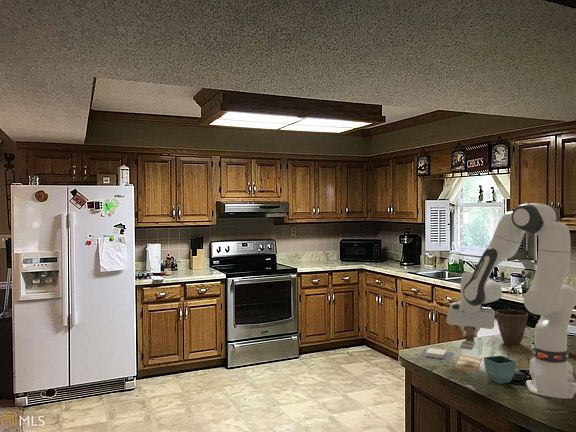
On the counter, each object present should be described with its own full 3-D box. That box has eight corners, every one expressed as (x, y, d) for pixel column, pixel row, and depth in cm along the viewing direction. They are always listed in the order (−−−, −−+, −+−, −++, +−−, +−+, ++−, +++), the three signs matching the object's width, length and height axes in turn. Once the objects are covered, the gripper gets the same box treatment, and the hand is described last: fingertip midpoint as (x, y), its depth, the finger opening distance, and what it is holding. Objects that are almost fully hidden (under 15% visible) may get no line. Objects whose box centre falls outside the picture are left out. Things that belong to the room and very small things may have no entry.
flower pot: (497, 386, 192) (497, 363, 191) (483, 379, 200) (483, 357, 200) (516, 384, 194) (516, 361, 194) (501, 377, 202) (501, 355, 202)
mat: (448, 363, 220) (448, 362, 220) (417, 358, 227) (417, 357, 227) (454, 353, 235) (454, 352, 235) (424, 349, 241) (424, 349, 241)
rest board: (476, 372, 208) (476, 370, 208) (454, 368, 213) (454, 367, 213) (482, 359, 226) (482, 357, 226) (461, 356, 230) (461, 354, 230)
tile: (446, 354, 232) (443, 358, 225) (429, 352, 236) (425, 356, 229) (446, 350, 232) (443, 354, 225) (429, 347, 236) (425, 352, 229)
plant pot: (490, 343, 252) (490, 312, 252) (504, 338, 262) (504, 308, 262) (519, 349, 241) (519, 317, 241) (533, 344, 251) (533, 312, 250)
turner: (472, 349, 212) (472, 333, 212) (459, 348, 215) (460, 332, 214) (476, 341, 226) (476, 326, 225) (464, 339, 228) (465, 324, 228)
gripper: (495, 307, 222) (495, 337, 223) (448, 302, 232) (448, 331, 232) (494, 309, 217) (494, 340, 217) (446, 305, 226) (445, 334, 227)
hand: (470, 336), depth 225 cm, fingers closed on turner, 3 cm apart
